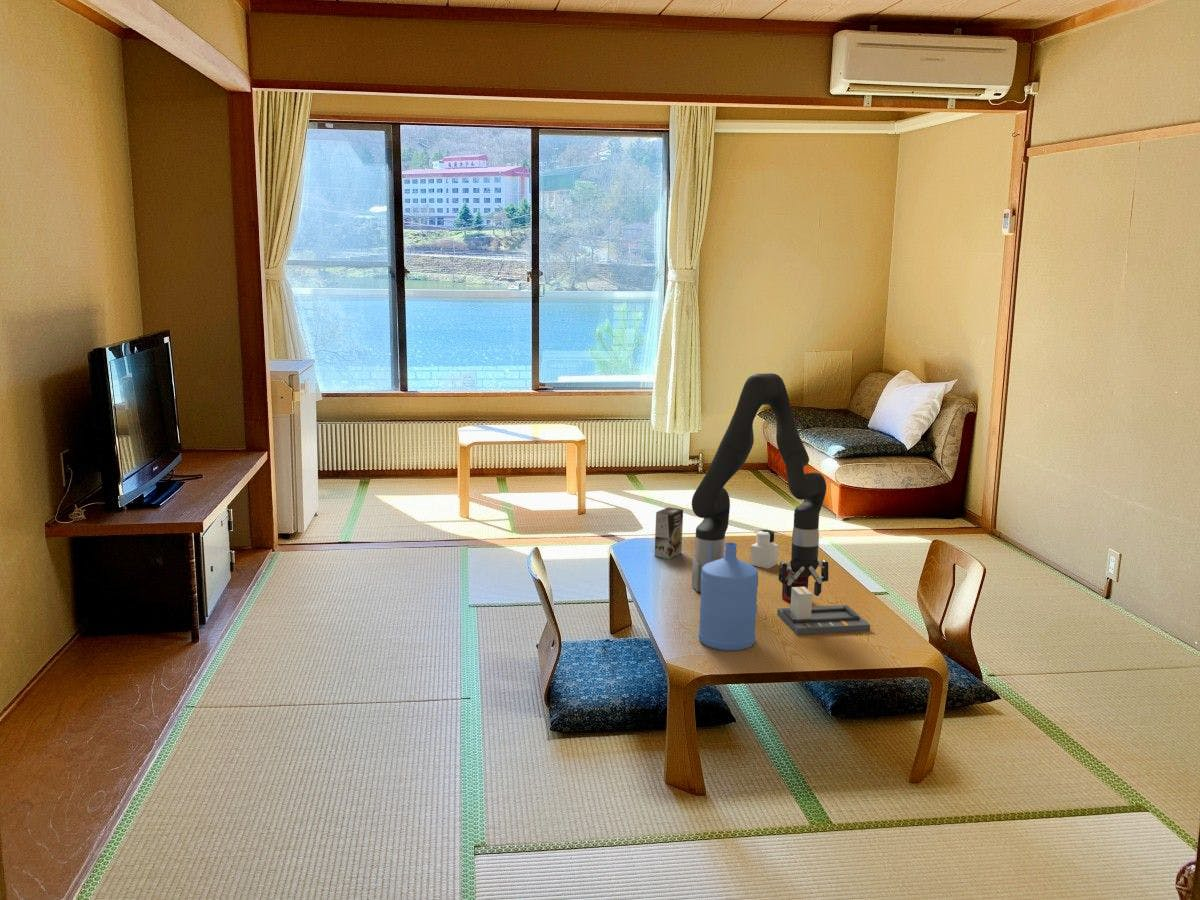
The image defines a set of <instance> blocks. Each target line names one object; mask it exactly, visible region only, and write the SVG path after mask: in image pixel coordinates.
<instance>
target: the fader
mask: <svg viewBox="0 0 1200 900" xmlns="http://www.w3.org/2000/svg"><path fill="white" fill-rule="evenodd" d="M812 605H813V593H812V591H811V590H809V588H808V589H807V588H806V587H792V590H791V603H790V607H789V608H790V613H791V614H792V615H793V616H794V617H795V618H796V619H797V620H799V619H811V610H812V607H813V606H812Z"/></svg>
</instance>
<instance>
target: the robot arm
mask: <svg viewBox="0 0 1200 900" xmlns="http://www.w3.org/2000/svg"><path fill="white" fill-rule="evenodd" d="M767 405H769V406H770V407H769V408H771V410H772V413H773V414H774V418H775V422H776V432H775V433H776V434H775V439H776V441H775V442H776V445H777V449H778V451H779V454H780V456H781V459H782V460H783V463H784V465H785V473H786V477H787V478H786V479H787V486H788V489H789V491H790V493H791V495H792V496H793V497H794V498H795V499H797V500H800V501H802V500H803V501H802V503H800V505H798V506H796V507H795V509H794V512H793V527H792V532H791V533H792V535H791V552H790V554H791V555H790V557H791V558H790V561H789V562H790V563H787V562H785V561H783V560H782V561H780V562H779V570H778V581H779V582H780V583H781V585H782V584H785V591H784V593H785V595H786V596H787V597H788V598H790V597H791V589H792V586H791V584H792V582H793V581H794V580H796V579H797V577H798V576H799V577H804V576H807V577H809V578H810V577H811V576H812V578H813V579H814V580H815V581H814V587H813V595H814V596H816V597H819V596H820V595H821V593H822V584H823V583H824V582H828V581H829V562H828V561H827V560H826V559H824V558H823V559H821V560H818V558H819V546H820V545H819V544H820V543H819V542H820V533H819V531H820V529H819V524H820V523H819V522H820V512H821V509H822V507H823V503H824V501H825V496H826V493H827V482H826V478H825V477H824V476H823V475H822V473H820V472H816V471H815V472H809V473H805V471H804V467H805V466H807V465H808V464H809V462H810V457H809V454H808V452H807V449H806V447H805V445H804V443H803V441H802V438H801V435H800V434H799V431H798V428H797V425H796V422H795V418H794V414H793V409H792V406H791V403H790V397H789V395H788V390H787V388H786V385H785V382H784V380H783V378H782V377H781V376H780V375H778V374H777V373H774V372H772V373H771V372H770V373H768V372H767V373H754V374H751V375H750V376H749V377H748V378H746V381H745V382H744V385H743V387H742V390H741V392H740V395H739V398H738V402H737V405H736V408H735V410H734V412H733V415H732V417H731V419H730V422H729V425H728V427H727V429H726V431H725V433H724V435H723V437H722V439H721V441H720V443H719V446H718V448H717V450H716V452H715V454H714V456H713V458H712V461H711V462H710V465H709V467H708V469H707V471H706V473H705V475H704V477H703V478H702V480H701V481H700V482H699V485H698V487H697V488H696V490H695V491H694V493H693V494H692V495H693V496H692V498H691V508H692V512H693V513H694V515H695V516H697V517H698V518H700V519H701V518H702V519H703V520H702V521H701V522H700V524H698V525H697V527H696V529H695V542H694V543H695V544H694V545H695V546H694V547H695V548H694V557H693V558H692V569H691V571H692V574H691V575H692V576H691V586H692V588H693V589H694V591H695V592H697V593H701V573H702V567H703V566H704V565H705V564H707V563H709V562H712V561H716V560H719V559H722V558H724V557H725V548H726V546H725V542H726V532H727V530H728V527H729V521H730V509H731V500H730V496H729V492H728V491H727V489H725V486H726V484H727V483H728V481H730V480H731V479H732V478H733V477H734V476H735V475H736V474H737V473H738V471H739V470H740V469H741V468H742V467H743V465H744V464H745V463H746V461H747V459H748V457H749V455H750V453H751V451H752V448H753V445H754V443H755V441H754V440H755V436H754V427H753V426H754V420H755V418H756V416H757V413H758V412H759V410H760V408H761V407H762V406H767ZM789 567H791V569H792V570H791V571H790V572H789V574H788V576H787V577H786V572H787V570H788V568H789ZM818 567H820V572H821V573H820V574H821V575H819V574H818V572H817V571H816V570H817V568H818ZM794 573H795V574H794Z"/></svg>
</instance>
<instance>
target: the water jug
mask: <svg viewBox="0 0 1200 900" xmlns="http://www.w3.org/2000/svg"><path fill="white" fill-rule="evenodd" d="M737 547H738V544H737V543H735V542H726V543H725V548H724V558H722V559H719V560H716V561H712V562H709V563H707V564H705V565H704V566H703V567H702V573H701V592H700V605H699V612H700V613H699V626H698V627H699V628H698V639H699V641H700V642H701V643H702V644H703V645H705V646H706V647H709V648H711V649H714V650H717V651H718V650H719V651H725V652H727V651H729V652H733V651H734V652H735V651H742V650H746V649H748V648H750V647H752V646H753V645H754V644H755V642H756V623H757V622H756V619H757V611H758V606H757V604H758V603H757V601H758V600H757V599H758V586H759V571H758V569H757V568H756V566H753V565H750V563H748V562H745V561H743V560H741V559H739V558H737V551H738V550H737Z"/></svg>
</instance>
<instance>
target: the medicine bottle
mask: <svg viewBox="0 0 1200 900" xmlns="http://www.w3.org/2000/svg"><path fill="white" fill-rule="evenodd" d="M755 534H756V538H755V543H753V544H751V545H750V558H749V559H750V560H749V564H750V565H752V566H754V567H759V568H762V569H767V570H769V569H771V568H772V567H774V566H776V565H777V564H778V563H779V562H778V561H779V560H778V557H779V544H778V543H775V533H774V531H772V530H770V529H759V530H757V531H756V533H755Z"/></svg>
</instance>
